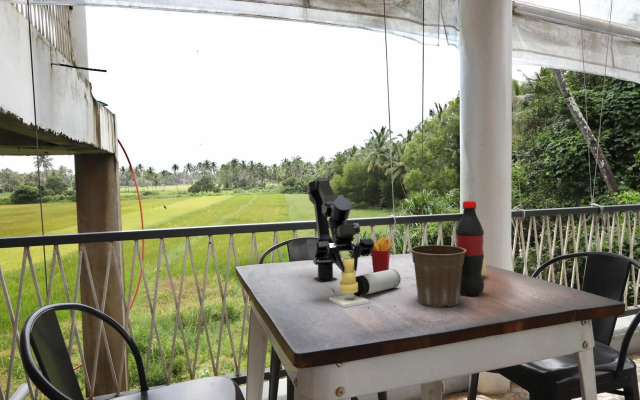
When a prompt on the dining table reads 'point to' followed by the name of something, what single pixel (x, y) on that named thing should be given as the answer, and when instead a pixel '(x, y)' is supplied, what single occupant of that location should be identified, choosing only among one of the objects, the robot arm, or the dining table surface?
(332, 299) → the tile
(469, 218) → the cola bottle
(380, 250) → the french fries
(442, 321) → the dining table surface
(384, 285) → the travel mug
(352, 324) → the dining table surface
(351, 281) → the yellow domed knob
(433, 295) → the plant pot
